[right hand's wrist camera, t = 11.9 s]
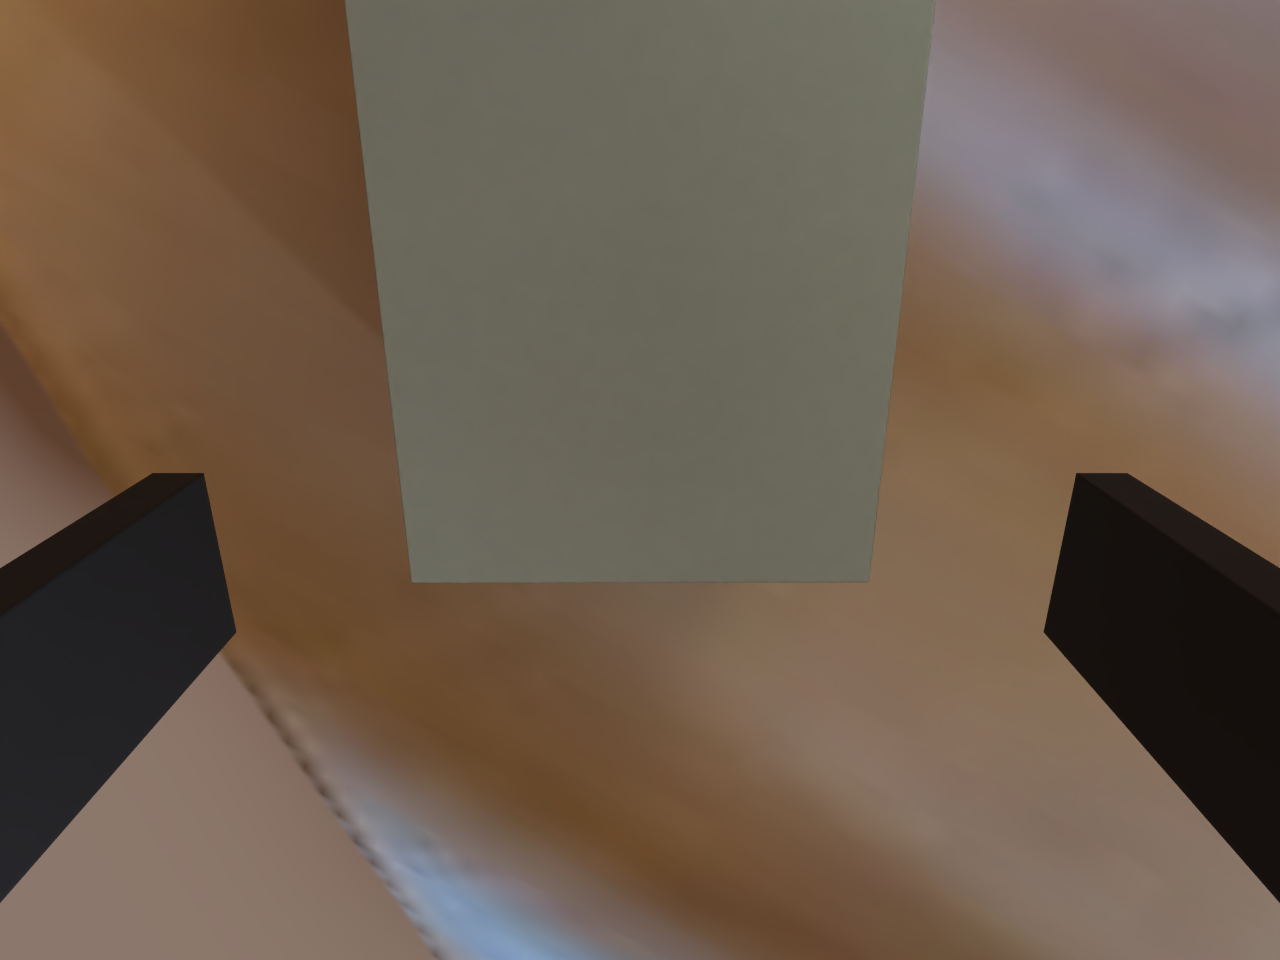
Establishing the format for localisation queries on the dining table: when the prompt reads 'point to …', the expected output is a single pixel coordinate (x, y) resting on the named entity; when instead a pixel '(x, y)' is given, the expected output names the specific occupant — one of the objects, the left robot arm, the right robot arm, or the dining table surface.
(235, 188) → the dining table surface
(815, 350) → the cabinet
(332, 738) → the dining table surface
